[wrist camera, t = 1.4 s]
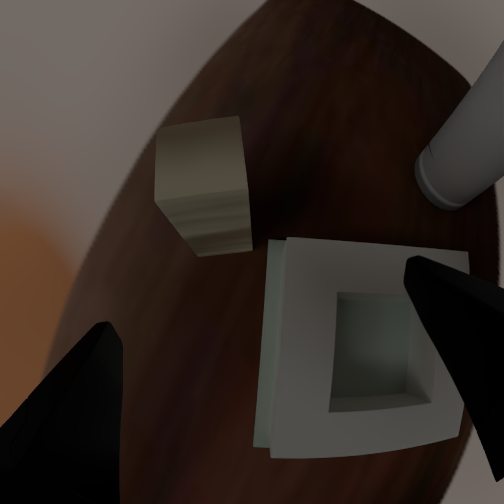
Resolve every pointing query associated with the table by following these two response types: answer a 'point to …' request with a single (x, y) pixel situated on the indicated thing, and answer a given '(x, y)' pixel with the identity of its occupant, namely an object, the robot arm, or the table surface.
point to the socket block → (349, 353)
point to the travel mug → (467, 144)
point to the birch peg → (205, 185)
